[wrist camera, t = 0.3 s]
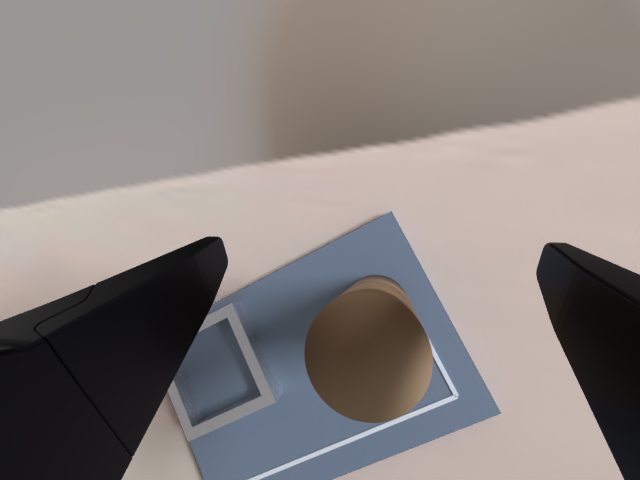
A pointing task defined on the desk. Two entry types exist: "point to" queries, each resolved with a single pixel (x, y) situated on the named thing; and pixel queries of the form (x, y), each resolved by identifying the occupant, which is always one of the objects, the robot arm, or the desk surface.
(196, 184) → the desk surface
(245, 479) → the board
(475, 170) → the desk surface
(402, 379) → the tan wooden peg
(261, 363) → the metal collar
